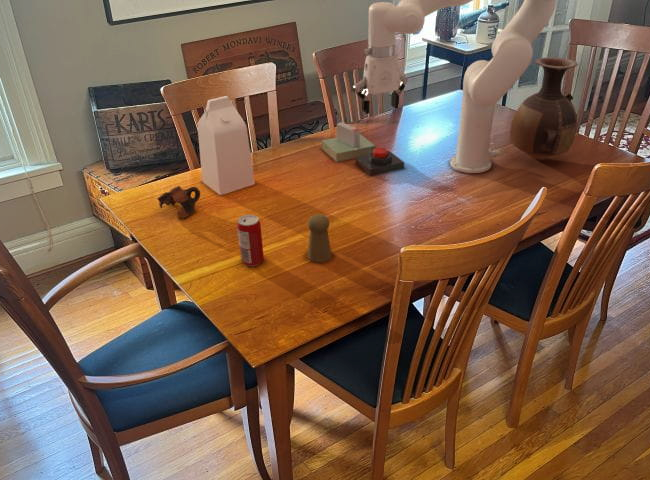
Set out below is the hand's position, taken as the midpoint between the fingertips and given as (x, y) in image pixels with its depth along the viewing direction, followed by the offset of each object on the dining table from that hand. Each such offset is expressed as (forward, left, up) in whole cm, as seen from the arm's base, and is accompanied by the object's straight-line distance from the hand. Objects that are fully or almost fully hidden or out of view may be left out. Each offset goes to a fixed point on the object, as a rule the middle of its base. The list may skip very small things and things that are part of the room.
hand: (380, 109), depth 186 cm
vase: (-48, +18, -18) cm, 54 cm away
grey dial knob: (+4, -14, -15) cm, 21 cm away
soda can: (+54, +36, -18) cm, 67 cm away
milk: (+47, -9, -18) cm, 51 cm away
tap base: (+4, -14, -18) cm, 23 cm away
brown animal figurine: (+64, +2, -18) cm, 67 cm away
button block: (0, +1, -18) cm, 18 cm away
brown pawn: (+38, +41, -18) cm, 59 cm away
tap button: (0, +1, -14) cm, 14 cm away
